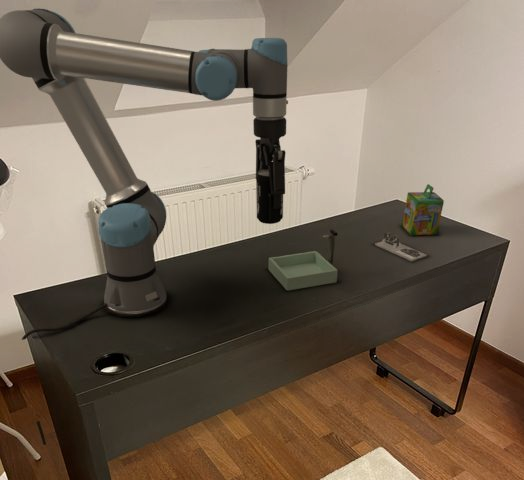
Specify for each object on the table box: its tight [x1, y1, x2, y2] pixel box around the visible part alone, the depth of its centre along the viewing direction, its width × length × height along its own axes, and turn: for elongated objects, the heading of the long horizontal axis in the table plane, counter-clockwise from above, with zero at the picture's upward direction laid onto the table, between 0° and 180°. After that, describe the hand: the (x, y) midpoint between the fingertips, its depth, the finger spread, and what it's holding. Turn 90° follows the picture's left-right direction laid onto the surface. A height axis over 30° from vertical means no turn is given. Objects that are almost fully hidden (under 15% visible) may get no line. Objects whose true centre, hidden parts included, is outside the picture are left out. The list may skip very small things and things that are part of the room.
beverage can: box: [255, 169, 284, 225], centre depth 129 cm, size 7×7×12 cm
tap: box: [322, 229, 338, 266], centre depth 144 cm, size 4×3×12 cm
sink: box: [268, 250, 339, 291], centre depth 144 cm, size 15×14×4 cm
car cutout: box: [374, 230, 428, 262], centre depth 159 cm, size 15×7×4 cm, turn 35°
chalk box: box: [401, 183, 445, 236], centre depth 170 cm, size 9×9×15 cm
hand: (269, 215), depth 132 cm, fingers closed on beverage can, 6 cm apart
